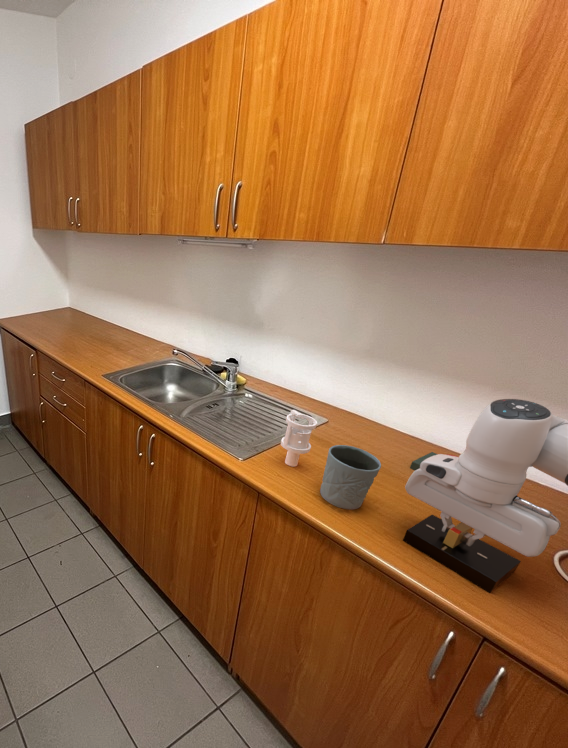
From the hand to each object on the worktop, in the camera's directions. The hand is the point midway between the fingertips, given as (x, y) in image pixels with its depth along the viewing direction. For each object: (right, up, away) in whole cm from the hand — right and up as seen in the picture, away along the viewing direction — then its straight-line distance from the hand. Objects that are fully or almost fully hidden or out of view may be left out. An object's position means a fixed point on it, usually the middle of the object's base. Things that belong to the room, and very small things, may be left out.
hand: (456, 537), depth 79 cm
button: (+21, +10, +23) cm, 33 cm away
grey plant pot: (-11, +3, +17) cm, 21 cm away
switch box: (+21, +6, +24) cm, 33 cm away
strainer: (-16, +8, +30) cm, 35 cm away
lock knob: (0, -1, 0) cm, 1 cm away
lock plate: (0, -4, +1) cm, 4 cm away
